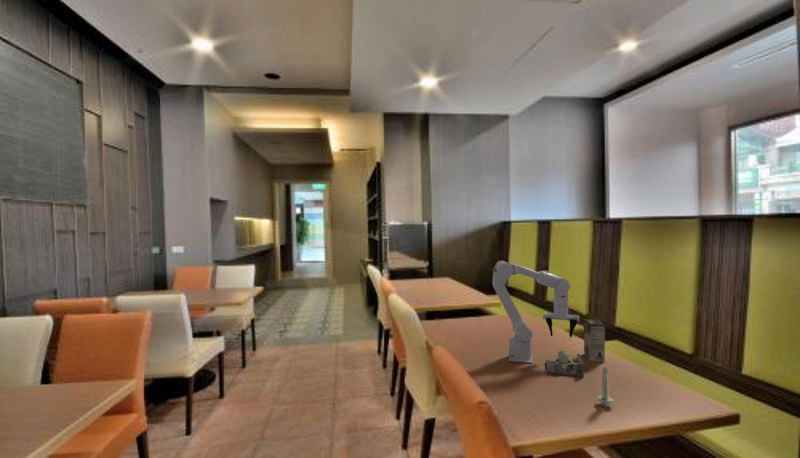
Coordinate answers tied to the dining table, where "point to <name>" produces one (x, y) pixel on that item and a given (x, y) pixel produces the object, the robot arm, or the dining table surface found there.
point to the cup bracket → (566, 368)
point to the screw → (605, 391)
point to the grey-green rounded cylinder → (563, 357)
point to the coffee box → (594, 340)
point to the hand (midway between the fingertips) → (560, 336)
